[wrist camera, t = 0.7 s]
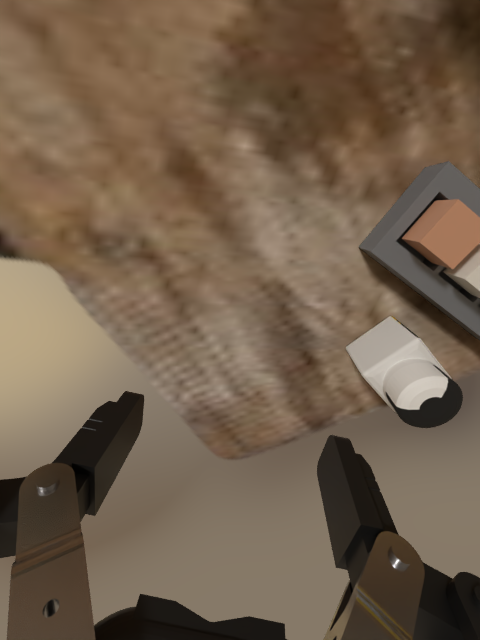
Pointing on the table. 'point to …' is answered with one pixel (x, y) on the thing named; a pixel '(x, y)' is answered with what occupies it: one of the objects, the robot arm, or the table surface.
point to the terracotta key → (445, 233)
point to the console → (408, 262)
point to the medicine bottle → (406, 374)
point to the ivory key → (468, 272)
